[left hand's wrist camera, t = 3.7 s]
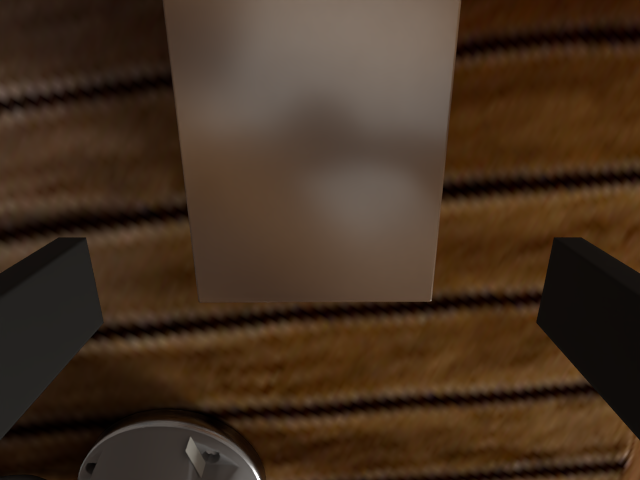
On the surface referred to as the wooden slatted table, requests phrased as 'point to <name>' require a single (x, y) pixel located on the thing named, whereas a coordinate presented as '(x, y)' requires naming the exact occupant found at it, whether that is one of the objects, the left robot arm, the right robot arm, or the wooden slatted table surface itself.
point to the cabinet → (313, 144)
